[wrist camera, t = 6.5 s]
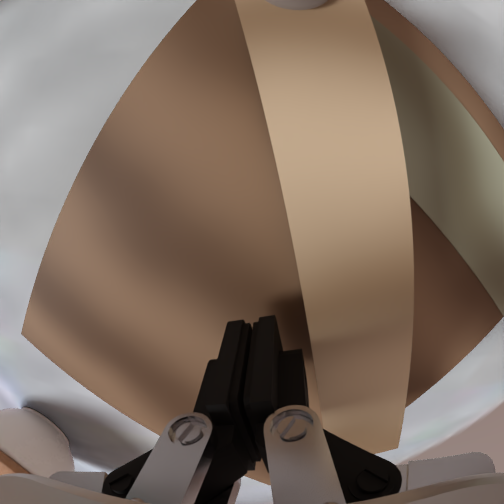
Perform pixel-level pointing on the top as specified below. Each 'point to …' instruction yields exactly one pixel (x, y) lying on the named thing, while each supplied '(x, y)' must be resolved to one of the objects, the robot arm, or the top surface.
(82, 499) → the robot arm
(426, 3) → the top surface
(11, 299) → the top surface
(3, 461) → the lidded jar
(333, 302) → the oak leg
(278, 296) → the brown wooden flat board
